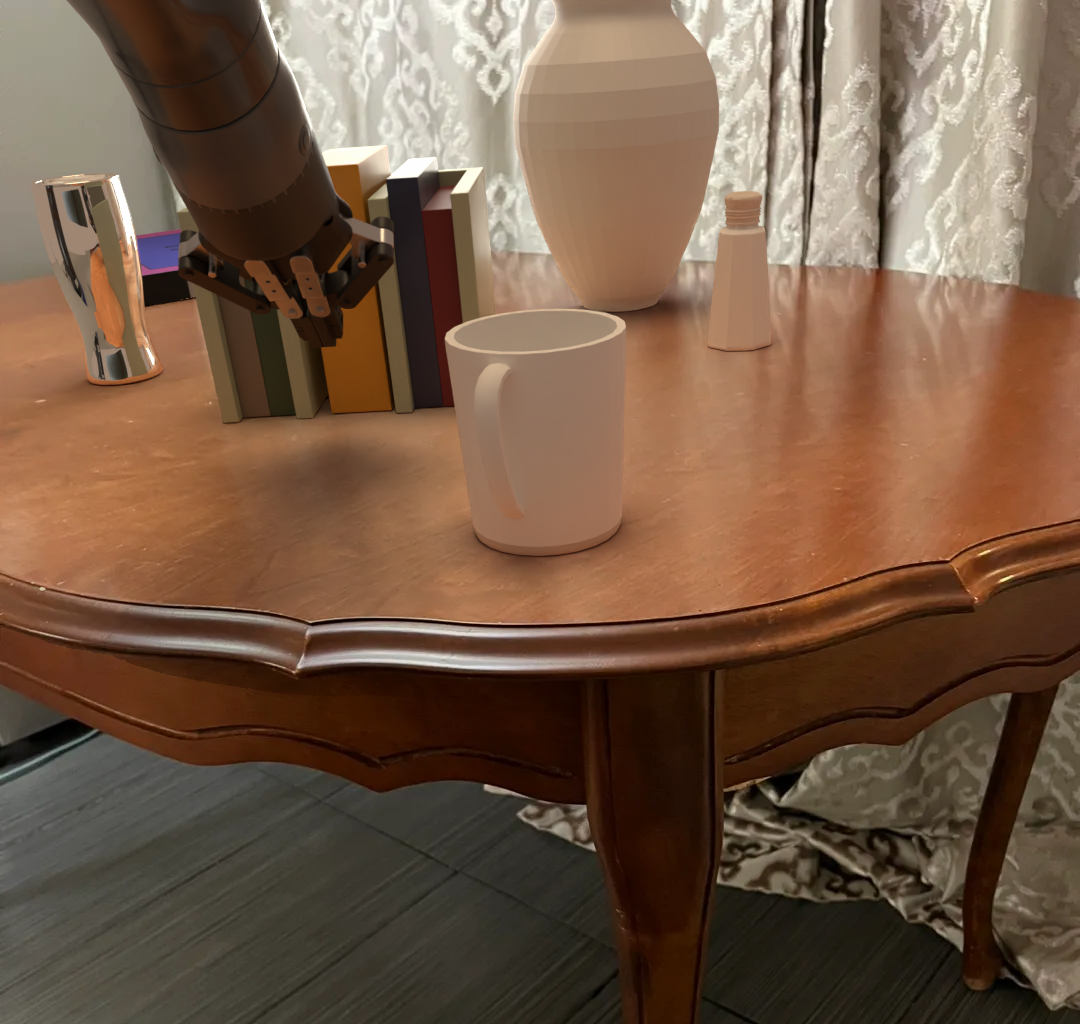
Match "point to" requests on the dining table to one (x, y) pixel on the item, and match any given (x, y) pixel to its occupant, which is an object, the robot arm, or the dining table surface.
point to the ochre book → (362, 350)
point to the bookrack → (406, 297)
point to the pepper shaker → (741, 279)
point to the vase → (616, 145)
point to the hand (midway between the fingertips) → (325, 334)
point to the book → (162, 268)
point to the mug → (541, 426)
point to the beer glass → (98, 272)
